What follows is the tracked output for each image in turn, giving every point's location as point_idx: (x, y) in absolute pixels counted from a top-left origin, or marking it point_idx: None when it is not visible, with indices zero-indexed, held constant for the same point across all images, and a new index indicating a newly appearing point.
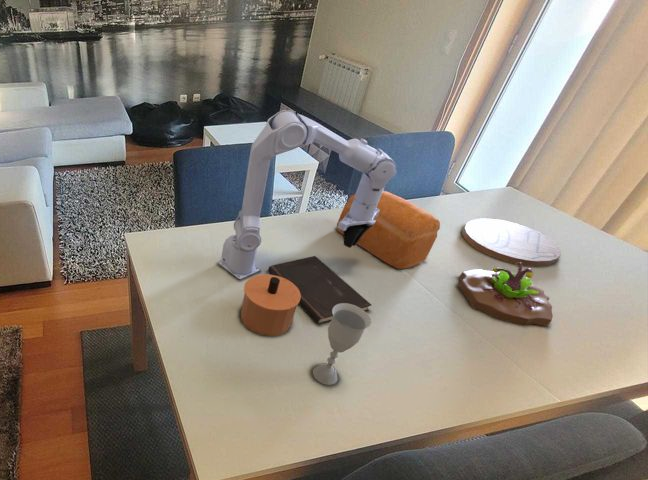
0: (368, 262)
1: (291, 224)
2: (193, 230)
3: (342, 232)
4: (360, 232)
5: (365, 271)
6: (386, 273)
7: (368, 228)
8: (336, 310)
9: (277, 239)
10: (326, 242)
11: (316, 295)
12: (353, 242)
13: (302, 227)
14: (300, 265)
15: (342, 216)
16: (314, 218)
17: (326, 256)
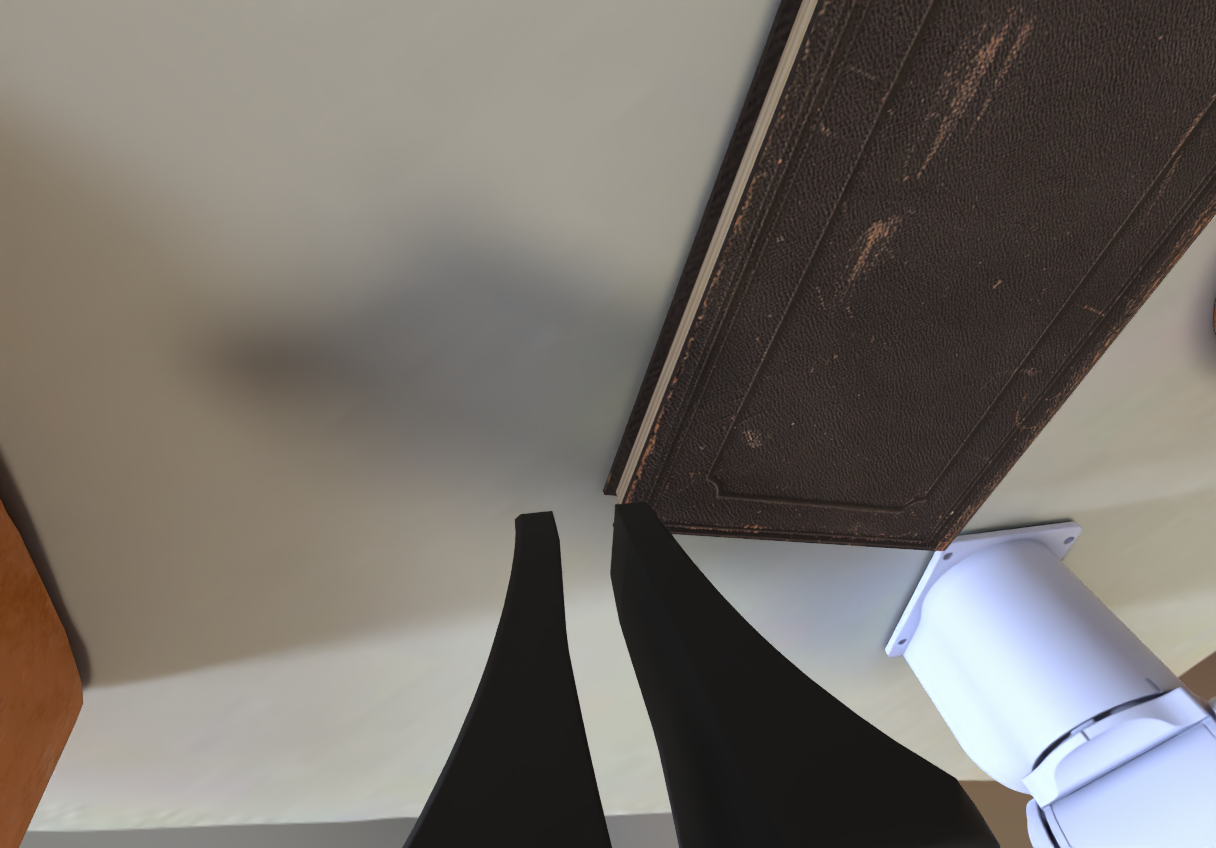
0: (102, 281)
1: (376, 771)
2: None
3: (69, 664)
4: (763, 756)
5: (273, 192)
6: (2, 5)
7: (477, 831)
8: None
9: (585, 695)
10: (296, 608)
11: (1130, 174)
12: (668, 561)
13: (330, 744)
14: (816, 489)
15: (14, 838)
16: (156, 793)
17: (449, 497)
